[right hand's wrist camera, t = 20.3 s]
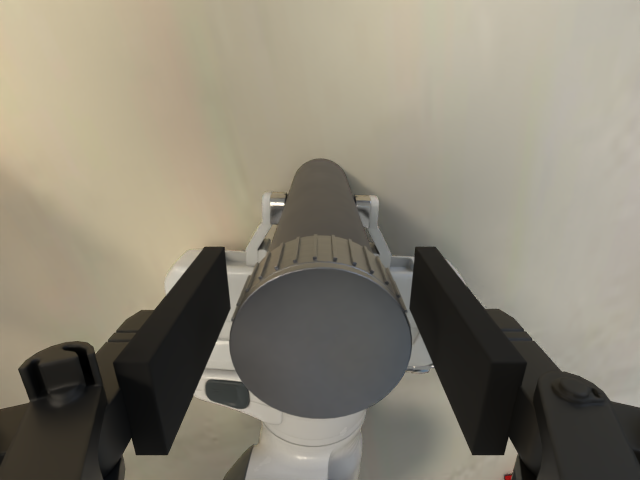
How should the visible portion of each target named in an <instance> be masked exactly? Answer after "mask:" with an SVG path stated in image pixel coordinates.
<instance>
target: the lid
mask: <svg viewBox="0 0 640 480" xmlns="http://www.w3.org/2000/svg"><path fill="white" fill-rule="evenodd" d="M407 312H408V311H407V309H406V306H405V304H404V301H403V299H402V297H401V294H400V292H399V289H398V287H397V285H396V282H395V281H394V280H393V277H392V275H391V272H390V270H389V268H385V267H384V265H383V264H382V262H381V260H380V257H379V256H375V255H374V254H372V253H371V252H370V251H369V250H368V249H367V247H366V246H364V247H362V246H361V245H359V244H357V243H354V242H352V240H351V239H348V240H347V239H343V238H340V237H335V235H331V236H322V235H317V234H314V236H307V237H302V238H300V237H297V238H296V239H295V240H292V241H289V242H286V243H284V242H283V243H281V244H280V246H279V247H277V248H276V249H274V250H273V251H271V252H270V251H268V252H267V253H266V256H265V257H264V258H263V259H262V260H261V262H260V263H258V262H257V263H256V264H255V267H254V269H253V272H252V274H251V275H248V277H247V280H246V282H245V285H244V287H243V290H242V292H241V294H240V297H239V299H238V302H237V304H236V309H235V311H234V314H233V316H232V319H231V321H232V326H231V330H230V337H229V349H230V355H231V360H232V363H233V366H234V368H235V371H236V373H237V375H238V376H239V378H240V380H241V381H242V382H243V384H244V385H245V386H246V388H247V389H248V390H249V391H250V392H251V393H252V394H253V395H254V396H256V397H257V398H258V399H259V400H261V401H262V402H264V403H265V404H267V405H269V406H270V407H272V408H274V409H276V410H279V411H281V412H284V413H287V414H289V415H293V416H298V417H302V418H310V419H331V418H338V417H344V416H348V415H351V414H355V413H358V412H360V411H363V410H365V409H367V408H369V407H371V406H373V405H374V404H376V403H377V402H379V401H380V400H382V399H383V398H384V397H385V396H387V395H388V394H389V393H390V392H391V391H392V390H393V389H394V388H395V386H396V385H397V384H398V383H399V381H400V380H401V378H402V377H403V375H404V373H405V371H406V369H407V367H408V364H409V360H410V357H411V351H412V334H411V325H410V322H409V320H408V317H407V315H406V313H407Z"/></svg>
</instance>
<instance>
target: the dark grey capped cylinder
mask: <svg viewBox="0 0 640 480" xmlns="http://www.w3.org/2000/svg"><path fill="white" fill-rule="evenodd" d="M314 234H317V235H322V236H331V235H335V237H340V238H343V239H347V240H348V239H351V240H352V242H354V243H357V244H359V245H361V246H362V247H364V246H366V247H367V249H368V250H369V251H370V252H371V253H372V250H371V247H370V244H369V241H368V238H367V235H366V232H365V230H364V227H363V224H362V221H361V218H360V215H359V212H358V209H357V207H356V204H355V201H354V198H353V195H352V192H351V189H350V187H349V184H348V181H347V178H346V175H345V173H344V172H343V170H342V169H341V168H340V167H339V166H338V165H337V164H336V163H334V162H332V161H330V160H327V159H314V160H310V161H308V162H306V163H305V164H303V165H302V166H301V167H300V168H299V169H298V171H297V172H296V174H295V176H294V179H293V182H292V185H291V188H290V191H289V194H288V197H287V200H286V203H285V206H284V209H283V211H282V214H281V217H280V220H279V223H278V226H277V229H276V232H275V235H274V238H273V241H272V244H271V246H270V249H269V251H270V252H271V251H273V250H274V249H276V248H277V247H279V246H280V244H281V243H283V242H284V243H286V242H289V241H292V240H295V239H296V238H297V237H300V238H302V237H307V236H314ZM372 254H373V253H372Z"/></svg>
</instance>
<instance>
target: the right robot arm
mask: <svg viewBox="0 0 640 480" xmlns="http://www.w3.org/2000/svg"><path fill="white" fill-rule="evenodd" d="M230 309H231V306H230V296H229V286H228V276H227V266H226V257H225V247H204V248H203V250H202V251H201V252H200V253H199V255H198V256H197V257H196V258H195V260H194V261H193V262H192V263H191V265H190V266H189V267H188V268H187V270H186V271H185V272H184V274H183V275H182V276H181V277H180V279H179V280H178V281H177V282H176V284H175V285H174V286H173V287H172V289H171V290H170V291H169V292H168V294H167V295H166V296H165V297H164V299H163V300H162V301H161V302H160V304H159V305H158V306H157V307H156V309H155V310H141V311H139V312H138V313H136V314H134V315H133V316H131V317H130V318H128V319H126V320H125V322H124V323H123V324H122V325H121V326H120V327H119V328H118V329H117V332H116V333H114V334H113V335H112V336H111V337H110V338H109V340H108V342H106V343H105V344H104V345H103V346H102V347H101V349H100V350H99V351H98V352H97V353H96V354H95V352H94V348H93V346H91V345H90V344H89V343H86V342H80V341H75V342H65V343H61V344H58V345H54V346H51V347H49V348H46V349H44V350H42V351H40V352H38V353H36V354H35V355H33V356H32V357H30V358H29V359H27V360H26V361H25V362H24V363H23V364H22V365H21V366H20V368H19V369H18V370H19V373H20V375H21V378H22V381H23V383H24V386H25V389H26V392H27V394H28V397H29V400H30V402H29V403H27V404H22V405H18V406H13V407H9V408H4V409H0V480H124V475H125V464H124V459H123V455H122V454H123V452H124V450H125V449H126V447H127V445H128V443H129V442H130V440H131V438H132V441H133V445H134V449H135V453H136V455H168V453H169V451H170V448H171V446H172V444H173V442H174V439H175V437H176V435H177V432H178V430H179V428H180V425H181V423H182V421H183V418H184V416H185V414H186V411H187V409H188V407H189V404H190V402H191V400H192V397H193V395H194V393H195V390H196V388H197V386H198V384H199V381H200V379H201V377H202V374H203V372H204V370H205V367H206V365H207V363H208V360H209V358H210V356H211V353H212V351H213V349H214V346H215V344H216V342H217V339H218V337H219V335H220V332H221V330H222V328H223V326H224V323H225V321H226V319H227V316H228V314H229V312H230ZM409 309H410V312H411V314H412V316H413V319H414V321H415V323H416V326H417V328H418V330H419V333H420V335H421V337H422V339H423V342H424V344H425V346H426V349H427V351H428V353H429V356H430V358H431V360H432V363H433V365H434V367H435V370H436V372H437V374H438V377H439V379H440V381H441V384H442V386H443V388H444V390H445V393H446V395H447V397H448V400H449V402H450V404H451V407H452V409H453V411H454V414H455V416H456V418H457V421H458V423H459V425H460V428H461V430H462V432H463V435H464V437H465V439H466V442H467V444H468V446H469V448H470V451H471V453H472V455H504V453H505V449H506V445H507V441H508V437H509V438H510V440H511V441H512V443H513V445H514V447H515V449H516V450H517V452H518V455H517V459H516V462H515V466H514V470H513V473H512V477H511V480H640V408H639V407H634V406H630V405H625V404H621V403H616V402H612V401H610V400H609V399H608V397H607V396H606V394H605V393H604V392H603V391H602V390H601V389H599V388H598V387H597V386H596V385H594V384H593V383H591V382H590V381H588V380H586V379H584V378H582V377H580V376H577V375H574V374H571V373H568V372H562V371H561V370H560V369H559V368H558V367H557V366H556V365H555V364H554V363H553V361H552V360H551V359H550V358H549V357H548V356H547V355H546V354H545V352H544V351H543V350H542V349H541V348H540V347H539V346H538V345H537V344H536V342H535V341H532V338H531V337H530V336H529V335H528V333H527V332H524V329H523V328H522V327H521V326H520V325H519V323H518V322H517V321H516V320H515V319H514V318H513V317H511V316H509V315H508V314H506V313H504V312H503V311H501V310H500V309H484V307H483V306H482V305H481V304H480V302H479V301H478V300H477V299H476V297H475V296H474V295H473V294H472V292H471V291H470V290H469V289H468V287H467V286H466V285H465V284H464V282H463V281H462V280H461V279H460V277H459V276H458V275H457V274H456V272H455V271H454V270H453V268H452V267H451V266H450V265H449V263H448V262H447V261H446V260H445V258H444V257H443V256H442V255H441V253H440V252H439V251H438V250H437V248H436V247H415V257H414V266H413V276H412V286H411V296H410V306H409Z"/></svg>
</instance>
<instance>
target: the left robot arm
mask: <svg viewBox="0 0 640 480" xmlns="http://www.w3.org/2000/svg"><path fill="white" fill-rule="evenodd" d="M286 200H287V192H264V194H263V197H262V221H261V222H260V224H259V226H258V227H257V229H256V231H255V232H254V234H253V236H252V238H251V239H250V241H249V243H248V245H247V247H246V251H238V250H225V257H226V266H227V276H228V286H229V296H230V306H231V309H230V312H229V314H228V316H227V319H226V321H225V323H224V326H223V328H222V330H221V332H220V335H219V337H218V339H217V342H216V344H215V346H214V349H213V351H212V353H211V356H210V358H209V360H208V363H207V365H206V367H205V370H204V372H203V374H202V377H201V379H200V381H199V384H198V386H197V388H196V390H195V393H194V396H195V397H196V398H198V399H200V400H203V401H207V402H210V403H214V404H218V405H221V406H224V407H228V408H231V409H234V410H237V411H240V412H242V413H245V414H247V415H250V416H252V417H254V418H257V419H259V420H261V422H262V427H261V431H260V436H259V443H258V444H257V445H252V446H251V447H250V448H249V449H247V450H246V451H245V452H244V453H243V455H242V456H241V457H240V458H239V459H238V460H237V462H236V463H235V464H234V465H233V466H232V468H231V469H230V470H229V471H228V473H227V474H226V476H225V477H224V479H223V480H358V476H359V471H360V465H361V458H362V447H363V441H362V434H361V430H360V429H361V427H362V425H363V423H364V420H365V416H366V412H367V409H365V410H363V411H360V412H358V413H355V414H351V415H348V416H344V417H338V418H331V419H310V418H302V417H298V416H293V415H289V414H287V413H284V412H281V411H279V410H276V409H274V408H272V407H270V406H269V405H267V404H265V403H264V402H262V401H261V400H259V399H258V398H257V397H256V396H254V395H253V394H252V393H251V392H250V391H249V390H248V389H247V388H246V386H245V385H244V384H243V382H242V381H241V380H240V378H239V376H238V375H237V373H236V371H235V368H234V366H233V363H232V360H231V355H230V349H229V337H230V330H231V326H232V321H231V319H232V316H233V314H234V311H235V309H236V304H237V302H238V299H239V297H240V294H241V292H242V290H243V287H244V285H245V282H246V280H247V277H248V275H251V274H252V272H253V269H254V267H255V264H256V263H257V262H258V263H260V262H261V260H262V259H263V258H264V257H265V256H266V253H267V252H268V251H269V249H270V246H271V240H270V239H264V238H265V236H266V235H267V233H268V231H269V230H270V228H271V226H272V224H278V223H279V220H280V217H281V214H282V211H283V209H284V206H285V203H286ZM354 201H355V204H356V207H357V209H358V212H359V215H360V218H361V221H362V224H363V227H365V228H367V230H368V232H369V234H370V236H371V238H372V239H373V241H374V243H375V244H374V243H373V242H369V244H370V247H371V250H372V253H373V254H374V255H375V256H379V257H380V260H381V262H382V264H383V265H384V267H385V268H389V270H390V272H391V275H392V277H393V280H394V281H395V282H396V285H397V287H398V289H399V292H400V294H401V297H402V299H403V301H404V304H405V306H406V309H407V311H408V312H407V313H406V315H407V317H408V320H409V322H410V325H411V334H412V351H411V357H410V360H409V364H408V367H407V369H406V371H405V372H411V373H414V374H423V373H428V372H429V370H430V369H431V368H435V367H434V365H433V363H432V360H431V358H430V356H429V353H428V351H427V349H426V346H425V344H424V342H423V339H422V337H421V335H420V333H419V330H418V328H417V326H416V323H415V321H414V319H413V316H412V314H411V312H410V309H409V306H410V296H411V286H412V276H413V266H414V256H391V252H390V250H389V248H388V245H387V243H386V241H385V239H384V237H383V235H382V233H381V231H380V229H379V227H378V225H377V222H378V212H379V199H378V198H377V196H376V195H354ZM202 250H203V249H190V250H188V251H186V252H185V253H184V254H183V255H182V256H181V257H180V258H179V259H178V260H177V261H176V262H175V263H174V264H173V265H172V267H171V268H170V269H169V271H168V273H167V274H166V277H165V281H164V287H165V296H166V295H167V294H168V292H169V291H170V290H171V289H172V287H173V286H174V285H175V284H176V282H177V281H178V280H179V279H180V277H181V276H182V275H183V274H184V272H185V271H186V270H187V268H188V267H189V266H190V265H191V263H192V262H193V261H194V260H195V258H196V257H197V256H198V255H199V253H200V252H201V251H202ZM445 260H446V261H447V262H448V263H449V265H450V266H451V267H452V268H453V270H454V271H455V272H456V274H457V275H458V276H459V277H460V279H461V280H462V281H463V282H464V284H465V285H466V283H465V281H464V280H463V278H462V276H461V275H460V273H459V272H458V271H457V270H456V268H455V267H454V266H453V265H452V264H451V263H450V262H449V261H448V260H447V259H445Z"/></svg>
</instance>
